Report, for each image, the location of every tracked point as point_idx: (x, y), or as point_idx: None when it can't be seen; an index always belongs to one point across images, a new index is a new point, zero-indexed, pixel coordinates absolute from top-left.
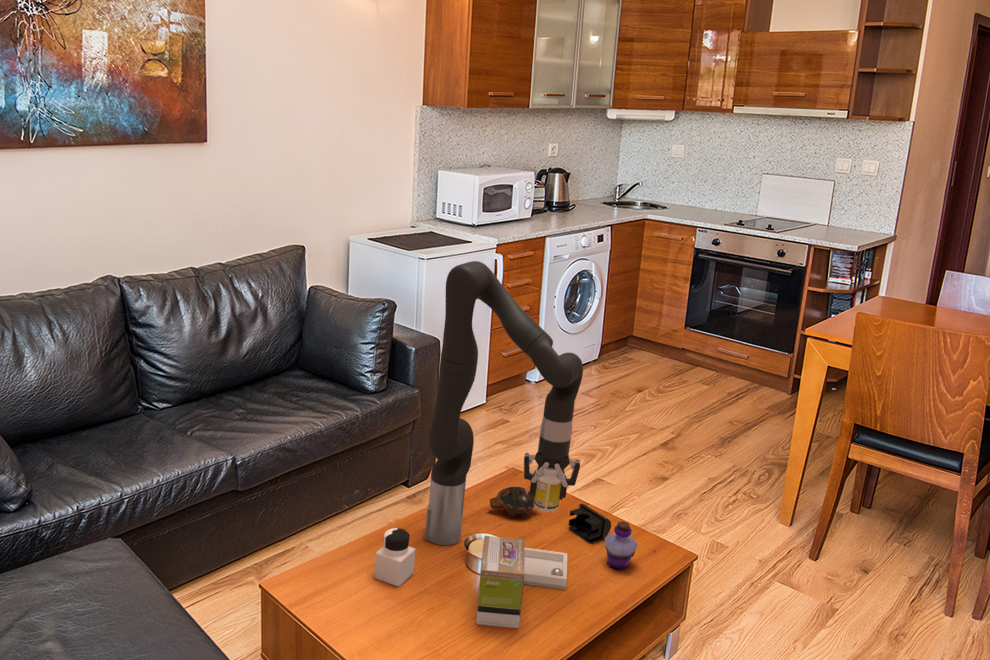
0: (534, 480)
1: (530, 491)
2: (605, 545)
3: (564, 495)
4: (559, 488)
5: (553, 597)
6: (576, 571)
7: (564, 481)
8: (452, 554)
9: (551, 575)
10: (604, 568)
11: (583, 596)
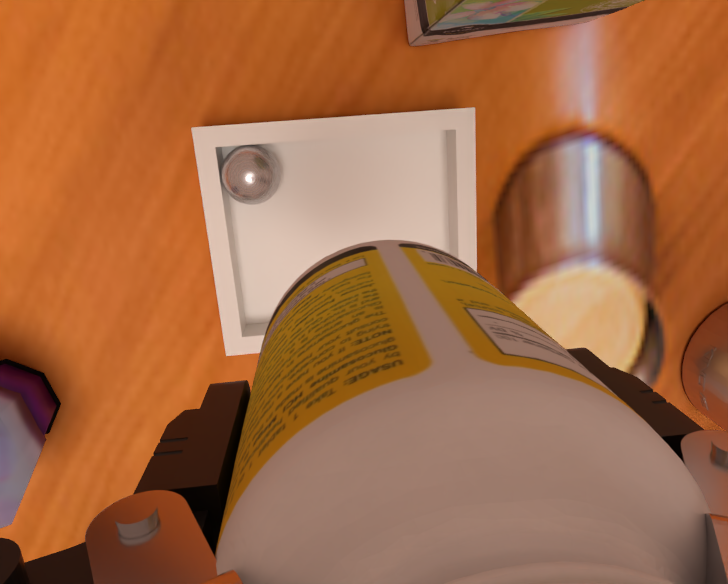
0: (722, 455)
1: (628, 377)
2: (40, 445)
3: (183, 428)
4: (245, 439)
5: (247, 47)
6: (178, 291)
7: (139, 571)
8: (707, 245)
9: (272, 137)
10: (61, 354)
11: (111, 100)
